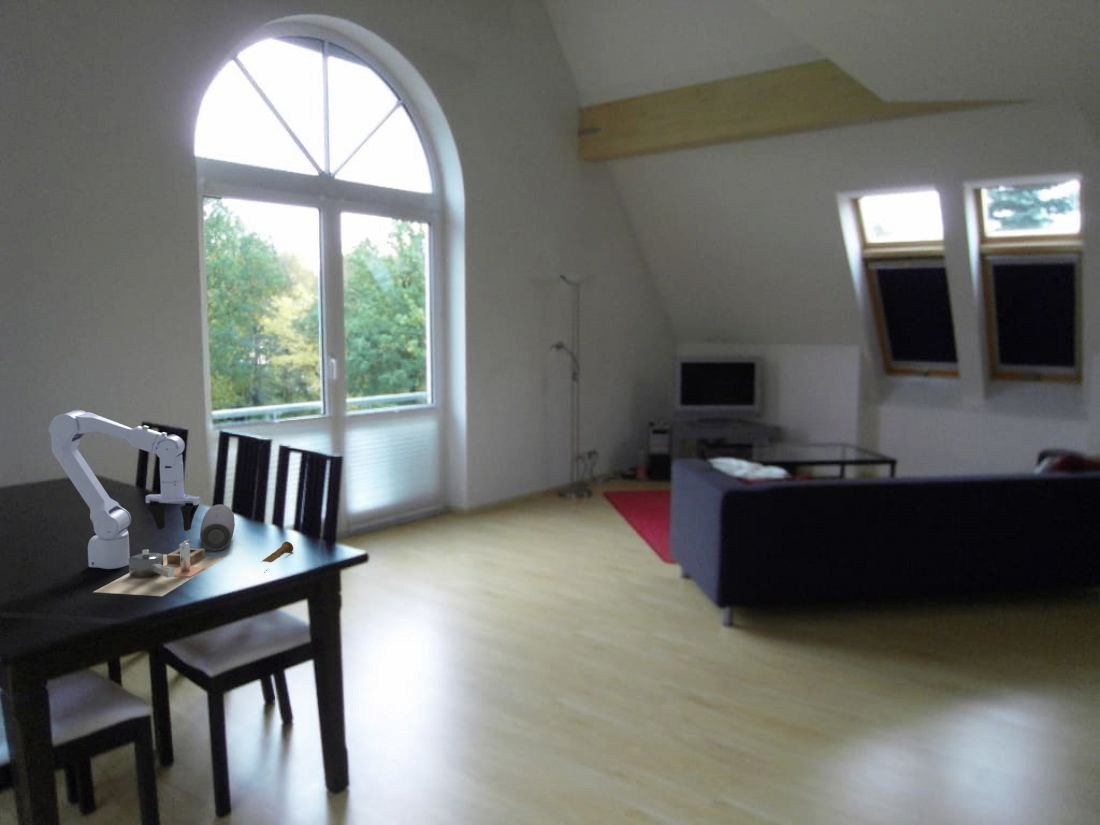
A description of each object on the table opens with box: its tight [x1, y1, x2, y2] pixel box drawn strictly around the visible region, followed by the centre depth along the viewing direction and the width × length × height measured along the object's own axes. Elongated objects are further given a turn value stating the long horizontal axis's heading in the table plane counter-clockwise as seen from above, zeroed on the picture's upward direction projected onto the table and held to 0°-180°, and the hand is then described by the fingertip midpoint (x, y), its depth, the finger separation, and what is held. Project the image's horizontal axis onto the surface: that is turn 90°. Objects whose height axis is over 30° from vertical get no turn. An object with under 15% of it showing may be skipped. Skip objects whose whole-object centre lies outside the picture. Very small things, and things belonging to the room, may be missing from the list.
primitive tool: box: [261, 541, 294, 572], centre depth 223 cm, size 19×6×4 cm, turn 174°
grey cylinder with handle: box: [128, 548, 174, 578], centre depth 204 cm, size 17×8×6 cm, turn 52°
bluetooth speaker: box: [199, 503, 236, 552], centre depth 237 cm, size 23×9×10 cm, turn 20°
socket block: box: [166, 547, 206, 565], centre depth 219 cm, size 7×7×2 cm
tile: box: [174, 566, 205, 577], centre depth 209 cm, size 7×7×1 cm
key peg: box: [178, 539, 191, 573], centre depth 209 cm, size 2×4×8 cm, turn 178°
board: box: [93, 553, 225, 597], centre depth 208 cm, size 18×30×1 cm, turn 174°
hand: (174, 529), depth 216 cm, fingers open, 7 cm apart
